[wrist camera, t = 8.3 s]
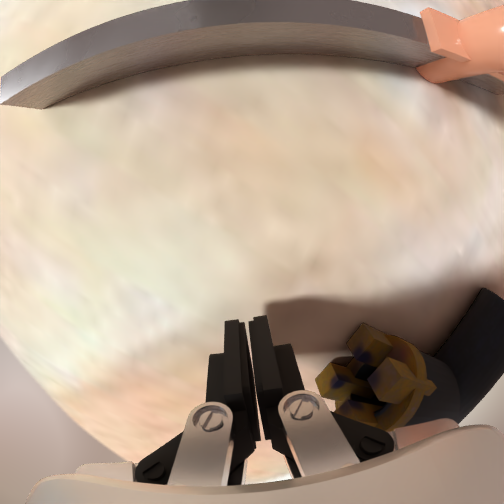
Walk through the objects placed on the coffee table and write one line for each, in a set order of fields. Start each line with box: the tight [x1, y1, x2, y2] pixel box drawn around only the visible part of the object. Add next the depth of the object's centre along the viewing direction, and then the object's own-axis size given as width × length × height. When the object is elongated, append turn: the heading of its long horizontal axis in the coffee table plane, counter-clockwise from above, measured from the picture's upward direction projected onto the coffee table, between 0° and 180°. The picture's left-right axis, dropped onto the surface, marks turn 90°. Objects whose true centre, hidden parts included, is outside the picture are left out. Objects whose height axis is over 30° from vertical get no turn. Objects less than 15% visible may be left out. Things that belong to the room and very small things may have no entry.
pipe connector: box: [315, 288, 504, 432], centre depth 13 cm, size 12×5×15 cm
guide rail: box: [0, 0, 504, 109], centre depth 5 cm, size 2×24×7 cm, turn 96°
